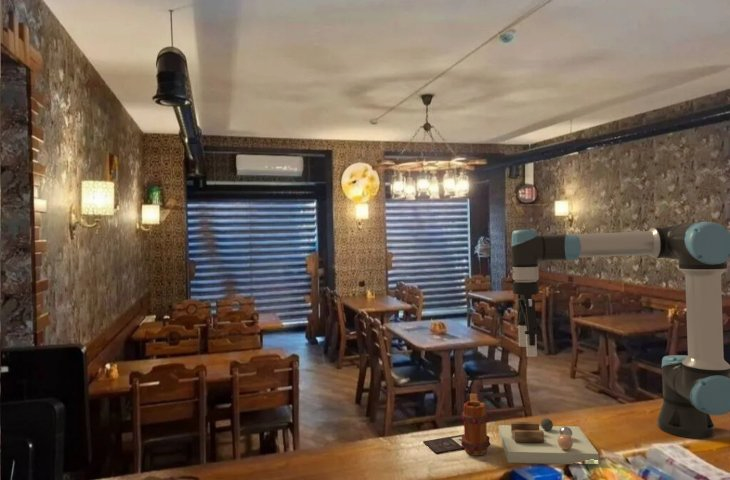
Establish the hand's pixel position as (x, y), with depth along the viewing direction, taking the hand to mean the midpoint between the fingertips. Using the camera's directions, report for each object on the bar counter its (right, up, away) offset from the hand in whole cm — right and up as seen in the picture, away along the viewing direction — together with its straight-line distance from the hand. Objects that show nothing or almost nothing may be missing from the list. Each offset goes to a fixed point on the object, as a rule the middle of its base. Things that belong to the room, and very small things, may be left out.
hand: (527, 351), depth 154 cm
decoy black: (+6, -23, +2) cm, 24 cm away
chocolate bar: (-21, -29, +2) cm, 36 cm away
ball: (+10, -23, -5) cm, 25 cm away
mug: (-16, -29, -3) cm, 33 cm away
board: (+4, -28, -4) cm, 28 cm away
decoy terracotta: (+6, -23, -12) cm, 26 cm away
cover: (-1, -25, -4) cm, 25 cm away
